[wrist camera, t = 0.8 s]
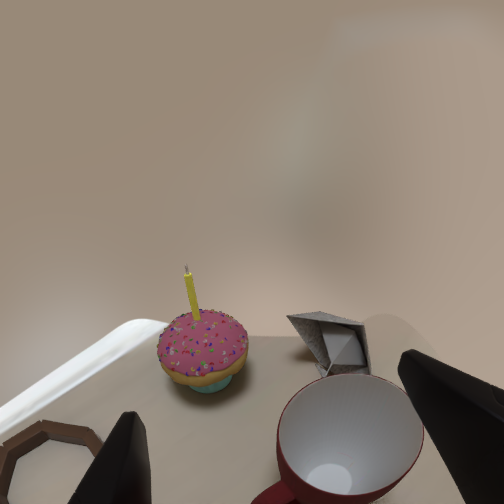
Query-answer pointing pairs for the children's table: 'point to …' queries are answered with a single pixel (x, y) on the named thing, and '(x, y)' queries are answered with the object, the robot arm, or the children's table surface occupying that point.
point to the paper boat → (334, 342)
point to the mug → (344, 442)
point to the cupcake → (202, 347)
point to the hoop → (5, 457)
